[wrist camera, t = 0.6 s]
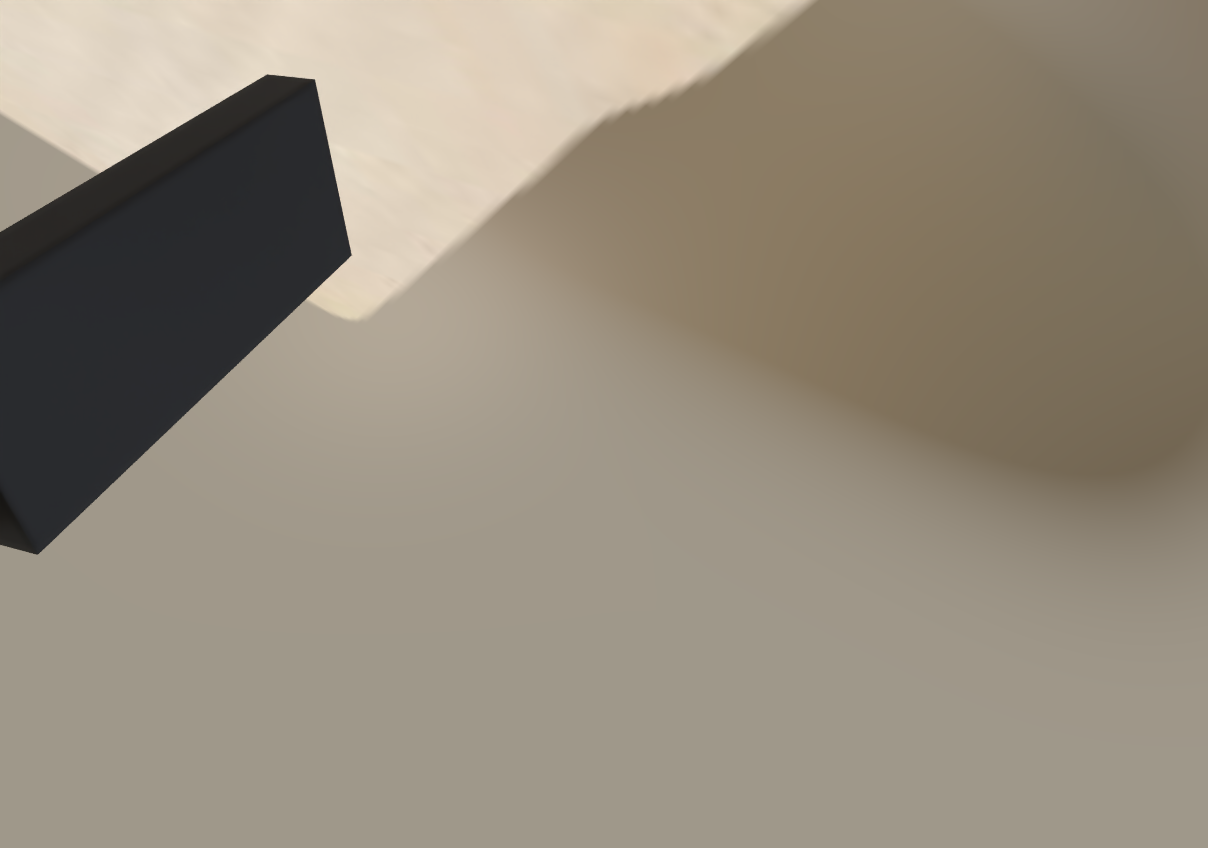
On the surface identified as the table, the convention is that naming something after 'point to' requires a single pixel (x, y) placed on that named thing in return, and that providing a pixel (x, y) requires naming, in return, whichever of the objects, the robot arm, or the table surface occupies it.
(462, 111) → the table surface
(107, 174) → the robot arm
